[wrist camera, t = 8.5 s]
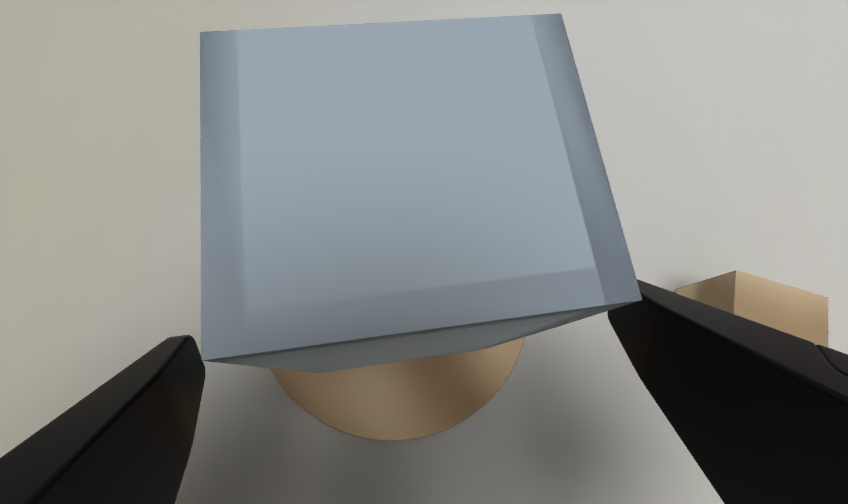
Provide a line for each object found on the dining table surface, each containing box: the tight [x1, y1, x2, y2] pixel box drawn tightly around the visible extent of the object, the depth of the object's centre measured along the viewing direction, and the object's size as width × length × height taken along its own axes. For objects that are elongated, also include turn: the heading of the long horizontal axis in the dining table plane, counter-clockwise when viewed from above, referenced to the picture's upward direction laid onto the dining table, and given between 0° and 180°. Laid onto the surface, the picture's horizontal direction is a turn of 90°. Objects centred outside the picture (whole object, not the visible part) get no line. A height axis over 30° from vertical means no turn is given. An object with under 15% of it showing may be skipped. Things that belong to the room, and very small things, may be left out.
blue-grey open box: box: [200, 14, 642, 373], centre depth 12 cm, size 6×6×11 cm
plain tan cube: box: [676, 270, 828, 347], centre depth 17 cm, size 4×4×4 cm
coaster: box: [271, 337, 525, 441], centre depth 18 cm, size 11×11×1 cm
